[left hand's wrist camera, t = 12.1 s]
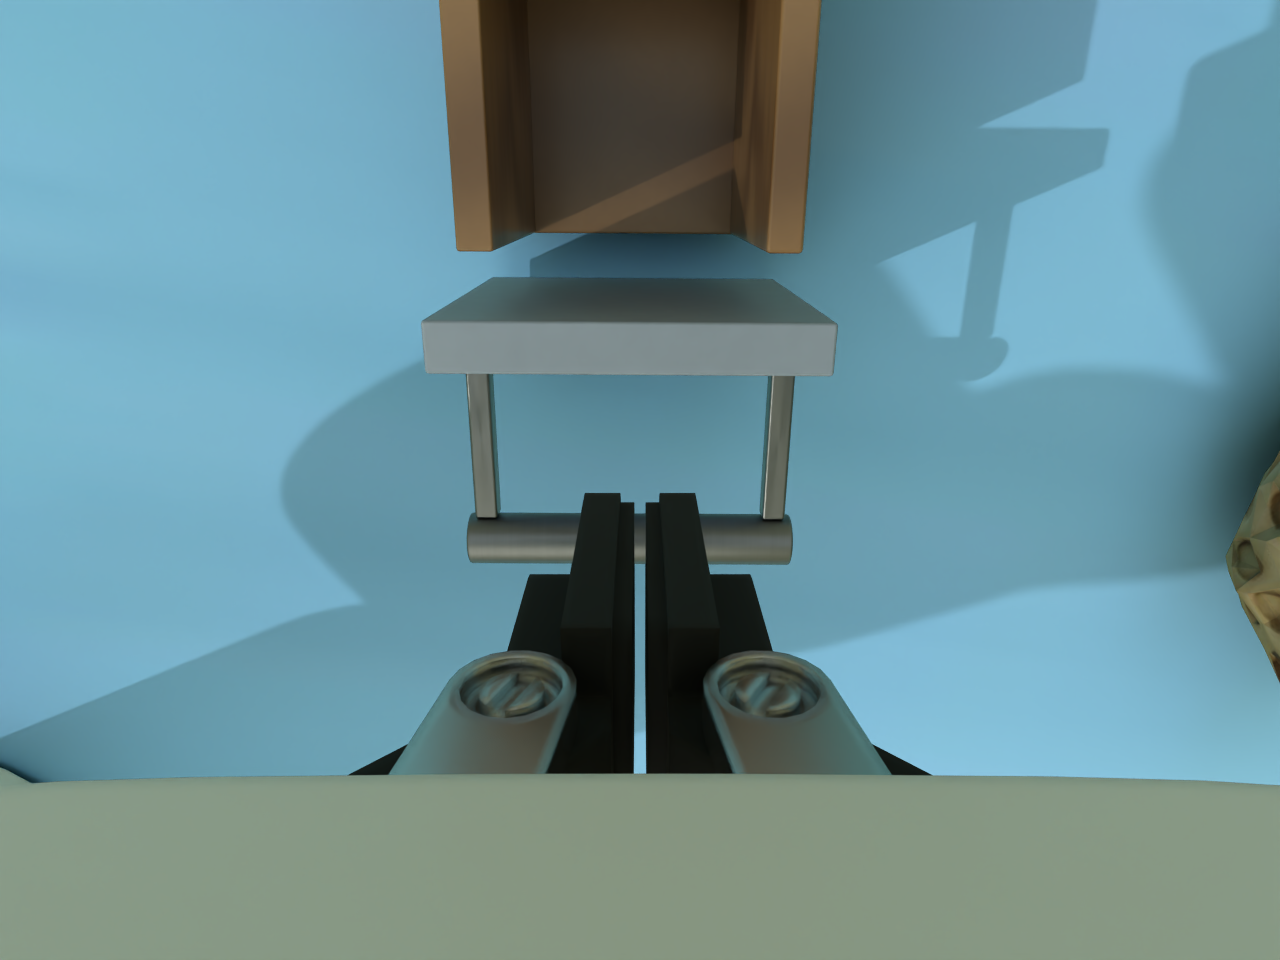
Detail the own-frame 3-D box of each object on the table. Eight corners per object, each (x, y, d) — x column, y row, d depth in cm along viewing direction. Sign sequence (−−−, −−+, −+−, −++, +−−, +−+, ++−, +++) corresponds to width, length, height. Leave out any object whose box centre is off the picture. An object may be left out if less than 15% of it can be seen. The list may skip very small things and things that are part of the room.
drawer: (761, 480, 28) (812, 604, 20) (502, 478, 28) (444, 603, 20) (817, -409, 20) (947, -840, 12) (452, -412, 20) (316, -849, 12)
